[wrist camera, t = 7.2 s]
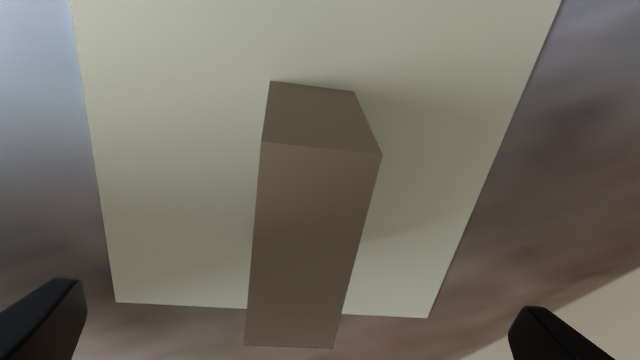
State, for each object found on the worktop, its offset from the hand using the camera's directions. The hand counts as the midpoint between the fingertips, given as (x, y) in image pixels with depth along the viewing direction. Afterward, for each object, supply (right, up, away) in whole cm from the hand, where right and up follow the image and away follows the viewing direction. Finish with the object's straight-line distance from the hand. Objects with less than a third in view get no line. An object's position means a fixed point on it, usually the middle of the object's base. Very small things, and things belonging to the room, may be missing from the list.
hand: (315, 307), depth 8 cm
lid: (-1, +3, +5) cm, 6 cm away
